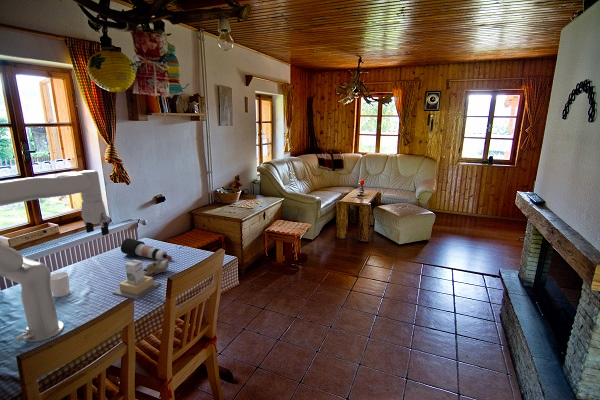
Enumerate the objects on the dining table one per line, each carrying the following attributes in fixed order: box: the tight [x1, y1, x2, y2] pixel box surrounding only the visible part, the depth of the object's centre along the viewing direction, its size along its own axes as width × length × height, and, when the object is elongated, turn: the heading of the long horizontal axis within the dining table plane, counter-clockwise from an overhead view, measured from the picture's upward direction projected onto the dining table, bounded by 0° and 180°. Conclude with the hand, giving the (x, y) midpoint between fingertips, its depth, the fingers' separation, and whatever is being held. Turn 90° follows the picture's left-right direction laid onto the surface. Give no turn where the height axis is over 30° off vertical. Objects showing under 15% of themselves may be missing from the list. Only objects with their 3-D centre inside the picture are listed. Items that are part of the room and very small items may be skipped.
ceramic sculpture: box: [143, 259, 170, 277], centre depth 184 cm, size 11×9×15 cm
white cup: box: [50, 271, 71, 298], centre depth 162 cm, size 8×8×10 cm
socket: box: [111, 276, 162, 301], centre depth 167 cm, size 16×16×5 cm
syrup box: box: [124, 259, 145, 285], centre depth 166 cm, size 6×6×14 cm
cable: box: [120, 237, 173, 262], centre depth 204 cm, size 10×34×10 cm, turn 73°
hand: (97, 233), depth 150 cm, fingers open, 9 cm apart
